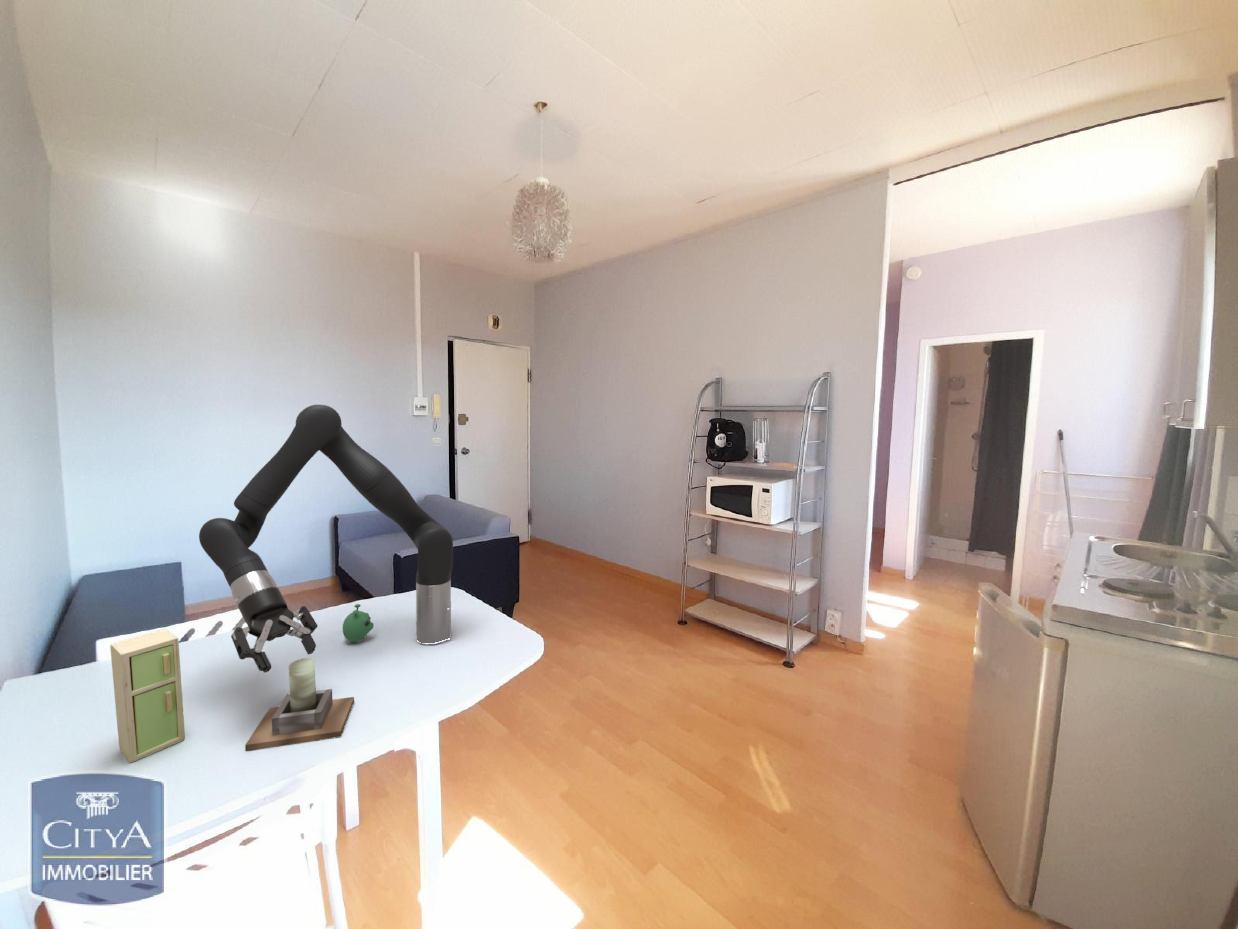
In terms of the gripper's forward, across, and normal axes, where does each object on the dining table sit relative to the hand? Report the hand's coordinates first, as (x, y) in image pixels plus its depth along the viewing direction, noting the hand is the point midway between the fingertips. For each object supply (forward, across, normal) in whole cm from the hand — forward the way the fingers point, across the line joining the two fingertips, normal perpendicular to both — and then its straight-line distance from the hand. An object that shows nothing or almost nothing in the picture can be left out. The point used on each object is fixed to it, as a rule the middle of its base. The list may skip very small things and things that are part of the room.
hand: (291, 661), depth 99 cm
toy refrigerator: (-1, -18, +19) cm, 26 cm away
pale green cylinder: (+11, 0, +5) cm, 12 cm away
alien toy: (-5, +28, +23) cm, 37 cm away
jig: (+12, 0, +6) cm, 13 cm away
